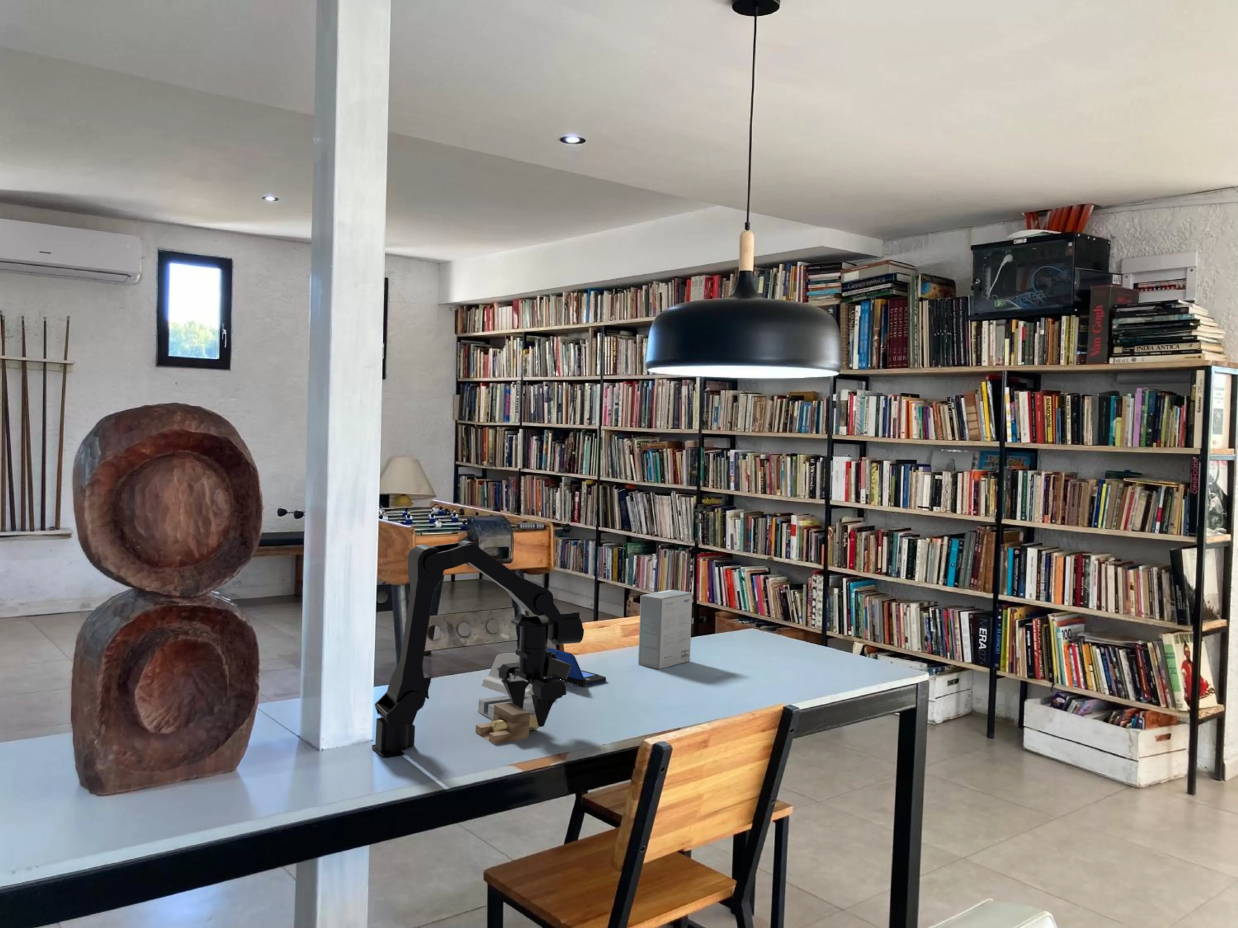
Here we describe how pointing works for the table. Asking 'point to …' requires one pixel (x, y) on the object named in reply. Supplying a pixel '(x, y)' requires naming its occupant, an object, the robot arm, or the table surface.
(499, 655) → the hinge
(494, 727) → the axle
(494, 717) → the brown notched block
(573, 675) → the handheld game console
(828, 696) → the table surface
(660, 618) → the hard drive box
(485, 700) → the v block
